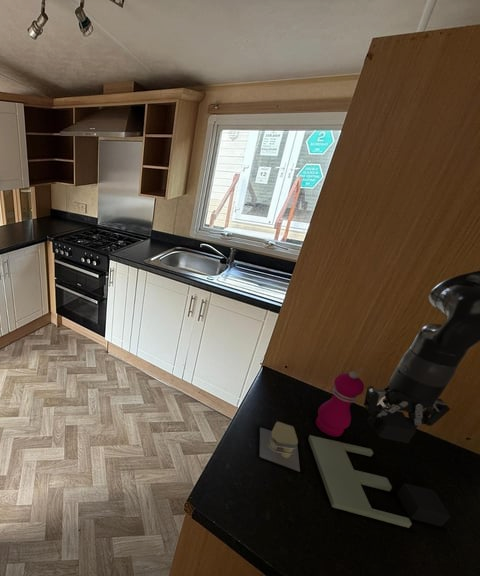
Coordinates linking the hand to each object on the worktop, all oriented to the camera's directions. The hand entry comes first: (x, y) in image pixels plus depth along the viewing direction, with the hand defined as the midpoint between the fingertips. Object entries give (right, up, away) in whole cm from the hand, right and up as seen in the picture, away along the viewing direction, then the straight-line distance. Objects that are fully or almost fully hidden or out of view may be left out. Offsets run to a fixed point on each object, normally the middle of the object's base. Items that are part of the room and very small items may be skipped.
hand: (387, 429), depth 72 cm
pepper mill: (-2, -7, +16) cm, 17 cm away
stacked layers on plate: (-19, -10, +10) cm, 24 cm away
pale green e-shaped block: (-6, -13, +3) cm, 15 cm away
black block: (+4, -16, -3) cm, 17 cm away
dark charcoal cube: (0, 0, 0) cm, 1 cm away
